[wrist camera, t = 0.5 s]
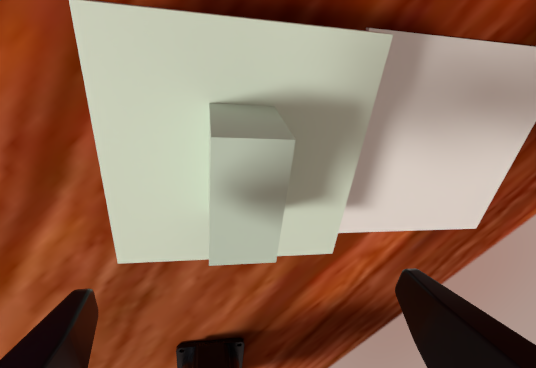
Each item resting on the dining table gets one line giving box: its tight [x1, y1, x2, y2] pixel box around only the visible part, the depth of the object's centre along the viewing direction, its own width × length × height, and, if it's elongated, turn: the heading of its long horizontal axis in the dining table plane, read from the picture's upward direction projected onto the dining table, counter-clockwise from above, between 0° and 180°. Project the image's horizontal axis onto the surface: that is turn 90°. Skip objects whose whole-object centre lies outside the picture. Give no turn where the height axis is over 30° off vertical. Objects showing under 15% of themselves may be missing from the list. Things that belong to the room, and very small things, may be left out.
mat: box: [338, 28, 536, 233], centre depth 23 cm, size 15×15×1 cm
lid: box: [69, 0, 393, 266], centre depth 14 cm, size 13×13×5 cm
